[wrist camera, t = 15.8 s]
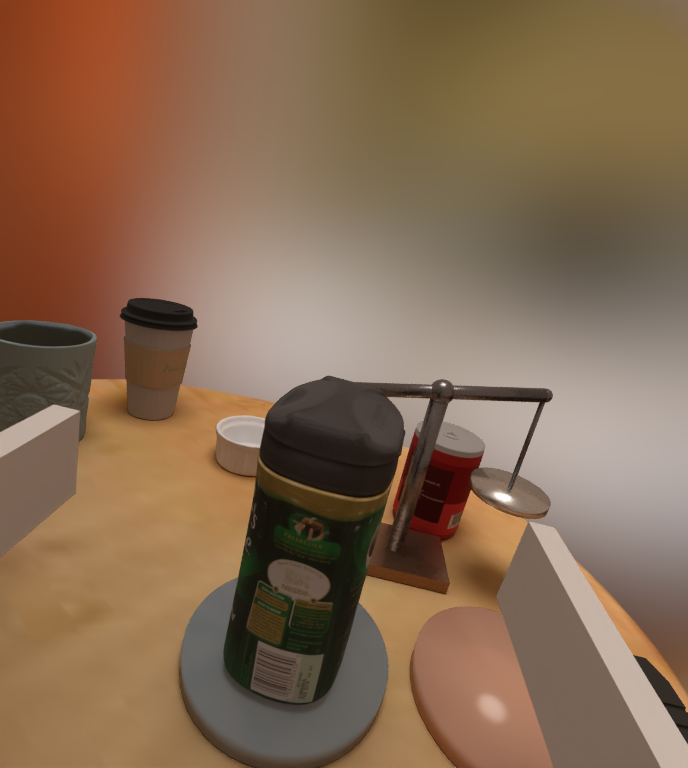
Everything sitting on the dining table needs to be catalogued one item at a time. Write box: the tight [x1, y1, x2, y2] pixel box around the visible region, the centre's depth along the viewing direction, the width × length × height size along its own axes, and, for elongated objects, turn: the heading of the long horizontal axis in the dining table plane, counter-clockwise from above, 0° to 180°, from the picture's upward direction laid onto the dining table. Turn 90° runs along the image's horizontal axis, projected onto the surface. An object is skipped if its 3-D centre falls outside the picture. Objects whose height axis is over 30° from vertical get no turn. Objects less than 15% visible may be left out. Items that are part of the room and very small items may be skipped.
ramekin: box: [216, 416, 265, 476], centre depth 56 cm, size 9×9×4 cm
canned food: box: [393, 421, 485, 540], centre depth 51 cm, size 8×8×11 cm
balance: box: [355, 379, 553, 594], centre depth 42 cm, size 24×7×20 cm, turn 86°
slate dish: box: [179, 578, 388, 768], centre depth 32 cm, size 14×14×2 cm
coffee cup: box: [120, 298, 197, 420], centre depth 61 cm, size 9×9×15 cm
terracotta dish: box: [410, 607, 554, 768], centre depth 32 cm, size 14×14×2 cm
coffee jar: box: [223, 376, 405, 705], centre depth 29 cm, size 10×8×19 cm
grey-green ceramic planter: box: [0, 321, 97, 441], centre depth 50 cm, size 10×10×12 cm
